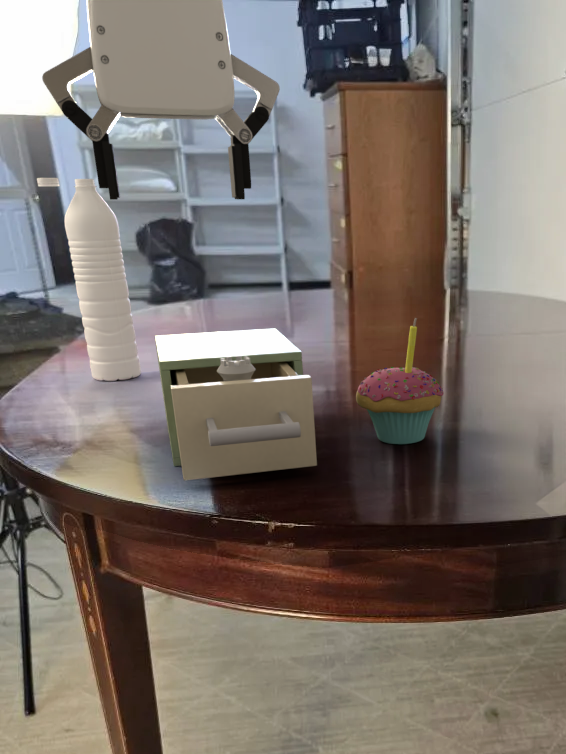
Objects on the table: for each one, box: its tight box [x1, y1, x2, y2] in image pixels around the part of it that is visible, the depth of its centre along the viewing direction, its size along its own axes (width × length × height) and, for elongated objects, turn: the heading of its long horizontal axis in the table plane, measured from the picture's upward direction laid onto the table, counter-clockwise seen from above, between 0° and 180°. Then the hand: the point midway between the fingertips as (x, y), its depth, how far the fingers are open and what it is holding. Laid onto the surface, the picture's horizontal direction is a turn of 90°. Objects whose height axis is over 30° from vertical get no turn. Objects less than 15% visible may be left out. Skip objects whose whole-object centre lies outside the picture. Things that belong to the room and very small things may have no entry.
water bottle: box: [36, 177, 142, 382], centre depth 102 cm, size 9×6×25 cm
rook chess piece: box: [217, 356, 256, 381], centre depth 68 cm, size 4×4×8 cm
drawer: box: [171, 362, 318, 481], centre depth 68 cm, size 19×11×8 cm, turn 18°
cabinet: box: [154, 327, 304, 467], centre depth 77 cm, size 15×13×10 cm
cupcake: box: [355, 317, 444, 445], centre depth 76 cm, size 9×8×12 cm
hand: (178, 199), depth 62 cm, fingers open, 9 cm apart
